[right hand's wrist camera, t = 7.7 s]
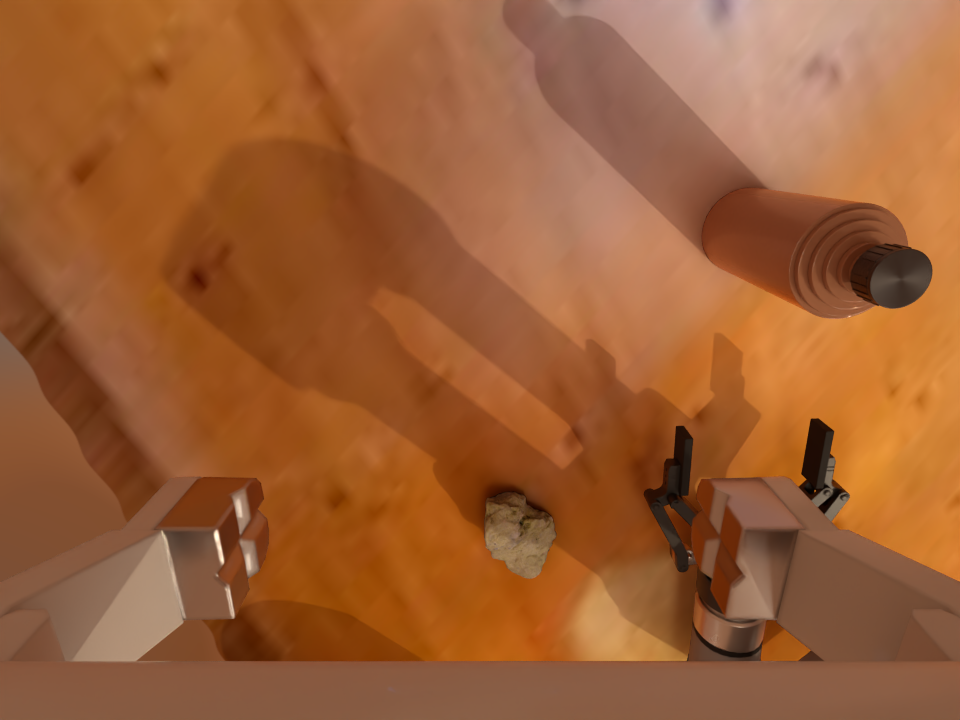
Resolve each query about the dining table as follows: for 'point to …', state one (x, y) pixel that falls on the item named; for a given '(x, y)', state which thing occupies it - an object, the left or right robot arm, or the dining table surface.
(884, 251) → the cap
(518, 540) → the rock
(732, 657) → the left robot arm
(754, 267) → the bottle
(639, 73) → the dining table surface
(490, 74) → the dining table surface
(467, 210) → the dining table surface
